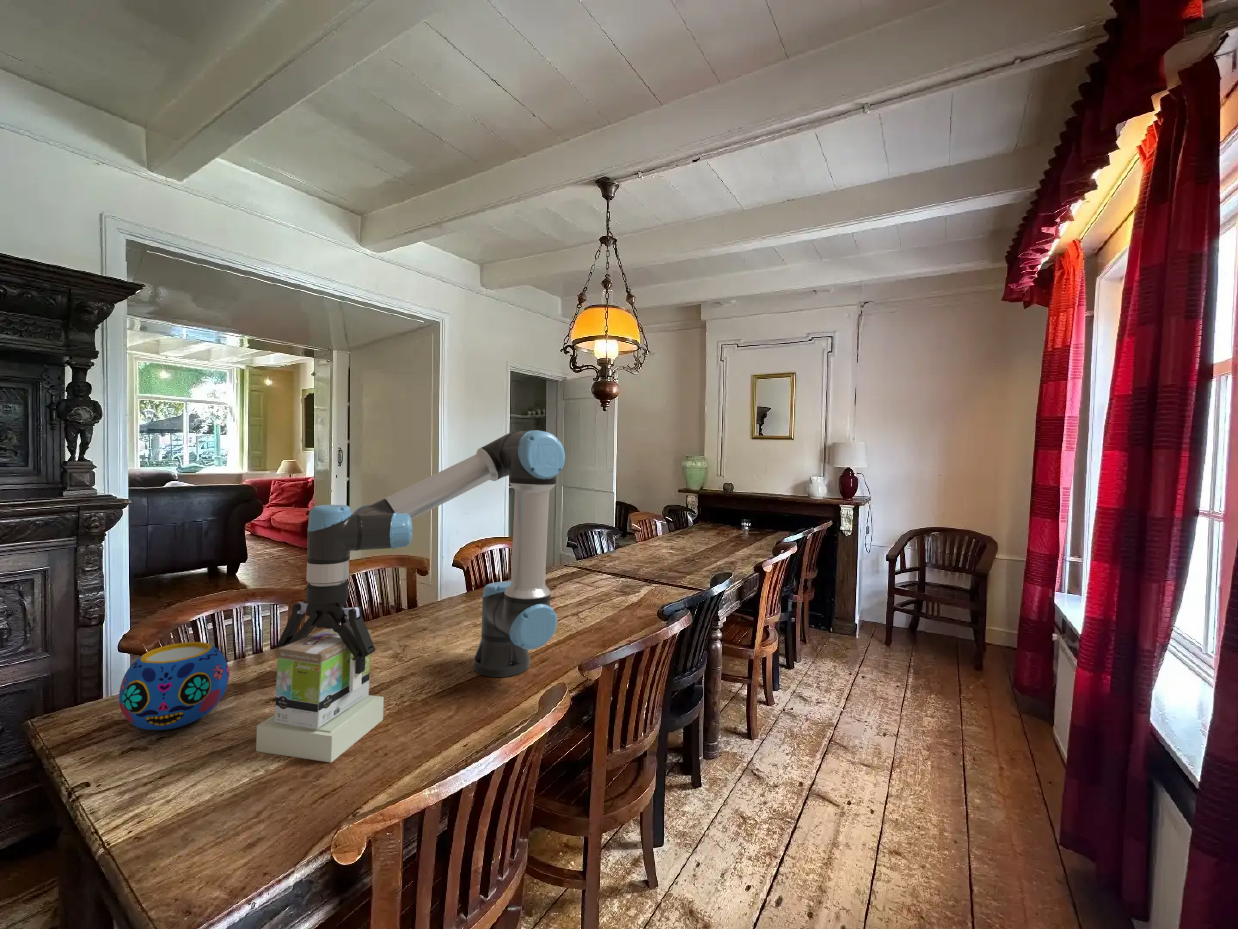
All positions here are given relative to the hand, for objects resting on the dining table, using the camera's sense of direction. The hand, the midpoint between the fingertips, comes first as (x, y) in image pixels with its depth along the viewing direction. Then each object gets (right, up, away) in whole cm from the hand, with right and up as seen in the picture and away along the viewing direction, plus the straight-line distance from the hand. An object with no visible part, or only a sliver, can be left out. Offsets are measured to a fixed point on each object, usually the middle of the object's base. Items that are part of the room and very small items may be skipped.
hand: (325, 685), depth 106 cm
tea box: (0, -5, 0) cm, 5 cm away
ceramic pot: (-32, -9, +2) cm, 34 cm away
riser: (0, -10, 0) cm, 10 cm away
